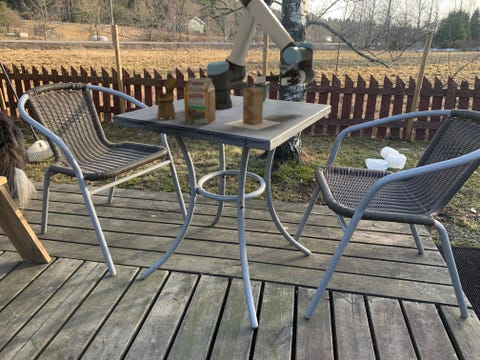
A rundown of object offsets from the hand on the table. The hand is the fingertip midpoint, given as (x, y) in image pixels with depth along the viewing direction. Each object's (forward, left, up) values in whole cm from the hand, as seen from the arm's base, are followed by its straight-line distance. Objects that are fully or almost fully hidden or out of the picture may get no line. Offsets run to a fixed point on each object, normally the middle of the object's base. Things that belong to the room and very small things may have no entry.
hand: (269, 81), depth 164 cm
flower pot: (-36, +44, -18) cm, 60 cm away
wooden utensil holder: (-40, -24, -18) cm, 50 cm away
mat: (+1, +7, -17) cm, 19 cm away
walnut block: (-1, -10, -17) cm, 20 cm away
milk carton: (-21, -22, -18) cm, 35 cm away
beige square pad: (-1, -10, -17) cm, 20 cm away
